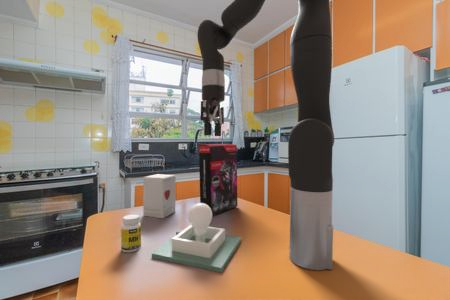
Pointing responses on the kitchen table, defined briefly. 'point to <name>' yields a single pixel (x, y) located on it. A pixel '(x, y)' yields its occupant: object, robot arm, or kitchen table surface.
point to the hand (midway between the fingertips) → (213, 135)
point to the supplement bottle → (131, 233)
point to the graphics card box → (218, 176)
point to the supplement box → (158, 195)
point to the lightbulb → (200, 220)
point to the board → (199, 249)
